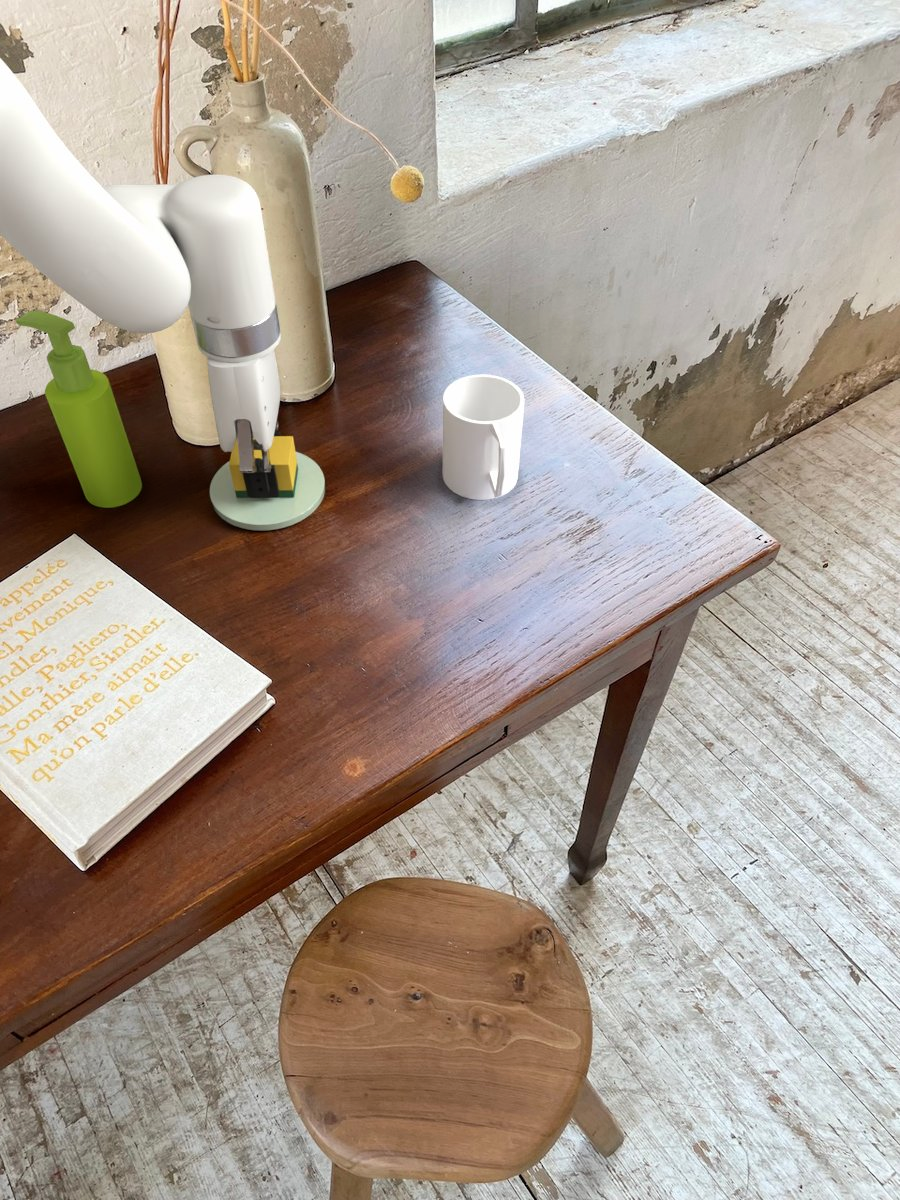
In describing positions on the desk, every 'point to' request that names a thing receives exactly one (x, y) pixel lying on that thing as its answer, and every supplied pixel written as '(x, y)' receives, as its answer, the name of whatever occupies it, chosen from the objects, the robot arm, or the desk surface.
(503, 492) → the cup
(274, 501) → the plate
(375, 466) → the desk surface
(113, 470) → the soap dispenser
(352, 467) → the desk surface
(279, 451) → the sponge
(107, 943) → the desk surface
